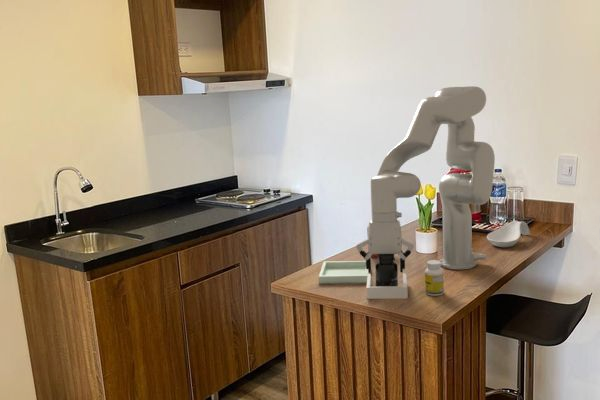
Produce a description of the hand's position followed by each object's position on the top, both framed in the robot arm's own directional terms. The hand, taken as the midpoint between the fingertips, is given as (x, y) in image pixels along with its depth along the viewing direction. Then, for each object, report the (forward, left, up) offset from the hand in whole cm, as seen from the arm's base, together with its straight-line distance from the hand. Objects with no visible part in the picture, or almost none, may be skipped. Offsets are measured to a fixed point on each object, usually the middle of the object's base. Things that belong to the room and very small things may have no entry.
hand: (385, 271), depth 177 cm
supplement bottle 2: (-14, +2, -7) cm, 16 cm away
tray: (+14, -15, -6) cm, 22 cm away
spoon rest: (-47, -52, -7) cm, 71 cm away
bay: (0, 0, -6) cm, 6 cm away
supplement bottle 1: (0, 0, -7) cm, 7 cm away
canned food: (+3, -38, -7) cm, 39 cm away
